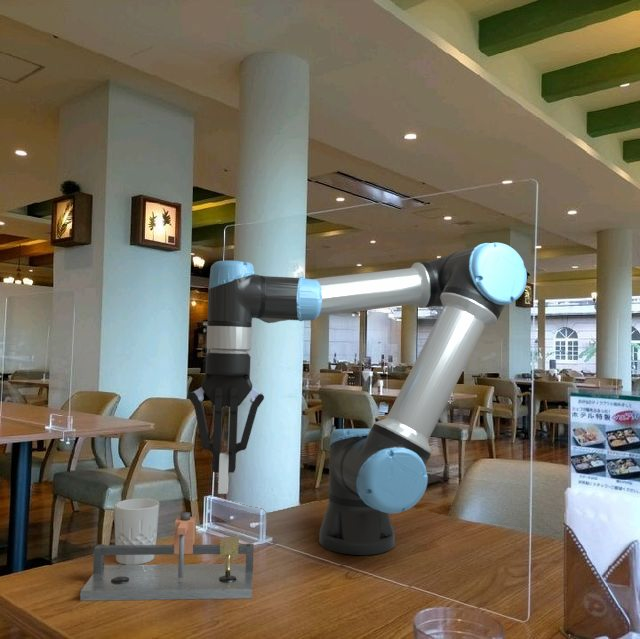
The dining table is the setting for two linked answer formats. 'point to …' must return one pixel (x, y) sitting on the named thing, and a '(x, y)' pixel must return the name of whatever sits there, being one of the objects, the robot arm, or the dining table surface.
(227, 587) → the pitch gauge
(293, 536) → the dining table surface
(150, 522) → the white cup
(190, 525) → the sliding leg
